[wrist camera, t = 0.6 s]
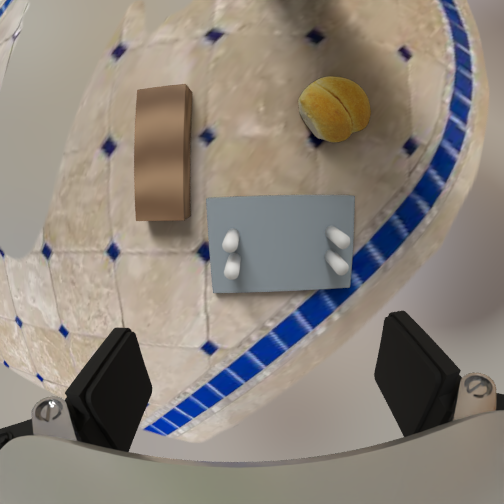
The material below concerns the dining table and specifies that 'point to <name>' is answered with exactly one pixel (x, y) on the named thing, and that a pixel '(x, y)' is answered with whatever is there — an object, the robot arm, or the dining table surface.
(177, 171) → the brown wooden block
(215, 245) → the peg stand
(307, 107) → the bread roll
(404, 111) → the dining table surface
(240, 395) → the dining table surface
